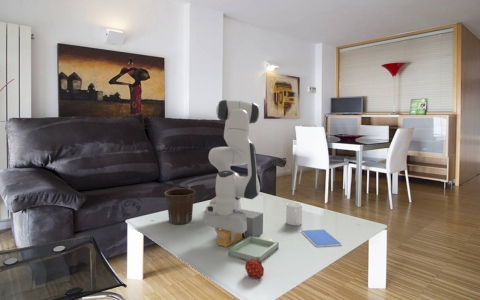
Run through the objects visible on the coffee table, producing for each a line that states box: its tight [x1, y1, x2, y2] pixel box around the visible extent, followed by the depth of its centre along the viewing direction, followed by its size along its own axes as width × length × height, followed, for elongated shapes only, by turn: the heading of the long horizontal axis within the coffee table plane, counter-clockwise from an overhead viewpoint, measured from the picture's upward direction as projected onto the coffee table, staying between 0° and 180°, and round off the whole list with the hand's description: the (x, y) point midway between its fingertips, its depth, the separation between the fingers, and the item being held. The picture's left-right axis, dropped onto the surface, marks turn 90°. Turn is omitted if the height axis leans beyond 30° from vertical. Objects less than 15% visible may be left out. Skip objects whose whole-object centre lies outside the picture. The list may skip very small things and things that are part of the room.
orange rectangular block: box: [216, 229, 243, 248], centre depth 144 cm, size 5×13×6 cm, turn 145°
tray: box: [227, 236, 280, 263], centre depth 134 cm, size 14×18×2 cm
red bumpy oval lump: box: [244, 259, 265, 279], centre depth 114 cm, size 6×7×8 cm
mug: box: [285, 201, 303, 227], centre depth 169 cm, size 12×8×10 cm
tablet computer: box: [300, 229, 343, 248], centre depth 150 cm, size 19×13×1 cm, turn 9°
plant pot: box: [164, 188, 196, 225], centre depth 173 cm, size 16×16×16 cm
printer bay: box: [236, 208, 264, 239], centre depth 156 cm, size 16×10×10 cm, turn 59°
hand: (225, 238), depth 142 cm, fingers closed on orange rectangular block, 5 cm apart
